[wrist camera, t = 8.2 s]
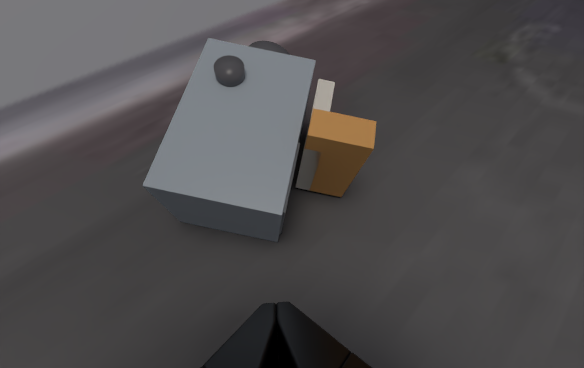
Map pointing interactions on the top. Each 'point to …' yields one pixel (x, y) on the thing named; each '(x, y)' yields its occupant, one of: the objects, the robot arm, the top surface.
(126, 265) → the top surface
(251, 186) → the grey knobbed box
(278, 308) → the robot arm
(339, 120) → the side door
